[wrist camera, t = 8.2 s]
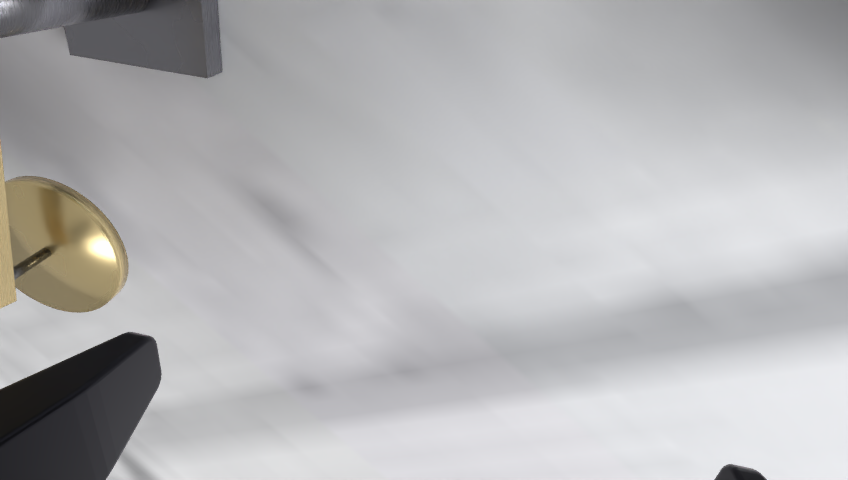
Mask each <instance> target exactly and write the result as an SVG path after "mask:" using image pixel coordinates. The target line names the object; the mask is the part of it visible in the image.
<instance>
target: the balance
mask: <svg viewBox="0 0 848 480" xmlns="http://www.w3.org/2000/svg"><path fill="white" fill-rule="evenodd" d="M63 26H64V28H65V33H66V37H67V42H68V47H69V52H70V55H74V56H80V57H86V58H92V59H98V60H104V61H110V62H115V63H121V64H127V65H133V66H139V67H145V68H151V69H157V70H162V71H168V72H174V73H180V74H186V75H192V76H198V77H204V78H209V77H212V76H214V75H216V74H219V73H221V72H222V62H221V48H220V33H219V19H218V5H217V0H0V38H3V37H9V36H14V35H19V34H25V33H30V32H36V31H41V30H47V29H52V28H57V27H63ZM127 276H128V258H127V254H126V250H125V247H124V245H123V242H122V240H121V238H120V236H119V234H118V232H117V231H116V229H115V228H114V226H113V225H112V223H111V222H110V221H109V220H108V218H107V217H106V216H105V215H104V214H103V213H102V212H101V211H100V210H99V209H98V208H97V207H96V206H95V205H94V204H93V203H92V202H91V201H89V200H88V199H87V198H85V197H84V196H83V195H81V194H80V193H78V192H77V191H75V190H73V189H72V188H70V187H68V186H66V185H64V184H62V183H59V182H56V181H54V180H51V179H47V178H43V177H36V176H22V177H16V178H13V179H10V180H8V181H6V182H5V181H4V171H3V161H2V151H1V141H0V308H2V307H4V306H6V305H9V304H11V303H13V302H15V301H17V300H16V290H15V287H16V288H17V289H19V290H20V291H21V292H23V293H24V294H26V295H27V296H29V297H31V298H32V299H34V300H36V301H38V302H40V303H42V304H44V305H46V306H49V307H52V308H55V309H58V310H62V311H68V312H89V311H93V310H96V309H98V308H101V307H102V306H104V305H105V304H106V303H108V302H109V301H110V300H111V299H112V298H113V297H114V296H116V295H117V294H118V293H119V292H120V291H121V289H122V288H123V286H124V285H125V282H126V280H127Z"/></svg>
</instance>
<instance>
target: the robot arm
mask: <svg viewBox="0 0 848 480" xmlns="http://www.w3.org/2000/svg"><path fill="white" fill-rule="evenodd" d="M160 381H161V367H160V361H159V355H158V349H157V343H156V341H155V339H154V338H153V337H151V336H148V335H143V334H139V333H134V332H127V333H124V334H121V335H119V336H117V337H115V338H113V339H110V340H108V341H106V342H104V343H102V344H99V345H97V346H95V347H93V348H91V349H88V350H86V351H84V352H82V353H80V354H77V355H75V356H73V357H71V358H68V359H66V360H64V361H62V362H60V363H57V364H55V365H53V366H51V367H49V368H46V369H44V370H42V371H40V372H38V373H35V374H33V375H31V376H29V377H27V378H24V379H22V380H20V381H18V382H16V383H13V384H11V385H9V386H7V387H5V388H2V389H0V480H106V478H107V477H108V475H109V474H110V472H111V471H112V469H113V467H114V465H115V464H116V462H117V460H118V459H119V457H120V455H121V453H122V452H123V450H124V448H125V446H126V444H127V443H128V441H129V439H130V437H131V435H132V434H133V432H134V430H135V428H136V426H137V425H138V423H139V421H140V419H141V417H142V416H143V414H144V412H145V410H146V409H147V407H148V405H149V403H150V401H151V400H152V398H153V396H154V394H155V392H156V391H157V389H158V387H159V384H160ZM715 480H767V479H766V478H765V477H764V476H763V475H762V474H760V473H759V472H758V471H756V470H754V469H751V468H746V467H742V466H737V465H733V464H728V465H726V466H724V467H723V468H722V469H721V471H720V472H719V474H718V475H717V477H716V478H715Z"/></svg>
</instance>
